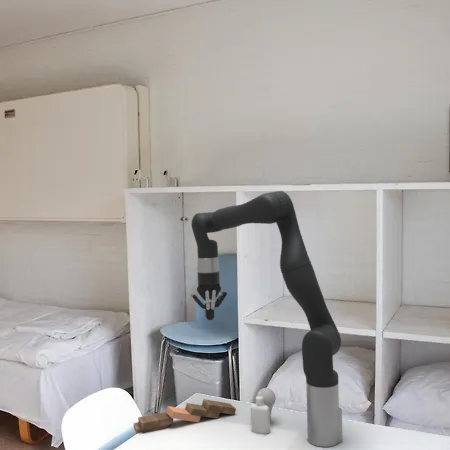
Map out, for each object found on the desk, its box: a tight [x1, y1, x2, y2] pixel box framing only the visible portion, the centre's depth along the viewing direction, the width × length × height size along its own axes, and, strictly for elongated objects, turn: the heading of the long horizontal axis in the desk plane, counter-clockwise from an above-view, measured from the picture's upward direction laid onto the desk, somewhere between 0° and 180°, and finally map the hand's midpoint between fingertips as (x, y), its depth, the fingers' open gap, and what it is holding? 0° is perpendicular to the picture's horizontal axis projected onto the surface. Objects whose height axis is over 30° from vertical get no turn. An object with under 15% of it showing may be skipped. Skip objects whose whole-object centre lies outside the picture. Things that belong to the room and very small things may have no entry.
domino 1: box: [137, 411, 175, 430], centre depth 168 cm, size 2×5×10 cm
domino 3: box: [165, 405, 202, 423], centre depth 170 cm, size 2×5×10 cm
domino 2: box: [133, 421, 169, 434], centre depth 168 cm, size 2×5×10 cm
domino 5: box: [201, 398, 237, 416], centre depth 176 cm, size 2×5×10 cm
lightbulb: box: [255, 387, 277, 421], centre depth 169 cm, size 6×6×11 cm
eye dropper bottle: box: [250, 392, 271, 435], centre depth 163 cm, size 4×6×12 cm
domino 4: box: [184, 402, 221, 419], centre depth 173 cm, size 2×5×10 cm
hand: (210, 319), depth 186 cm, fingers closed
